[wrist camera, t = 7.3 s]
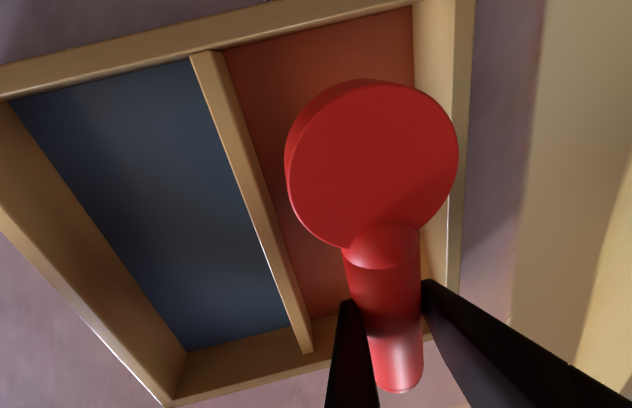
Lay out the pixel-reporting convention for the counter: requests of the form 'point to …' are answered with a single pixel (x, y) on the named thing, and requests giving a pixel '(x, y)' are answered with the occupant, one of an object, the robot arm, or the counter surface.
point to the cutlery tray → (211, 181)
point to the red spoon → (375, 203)
